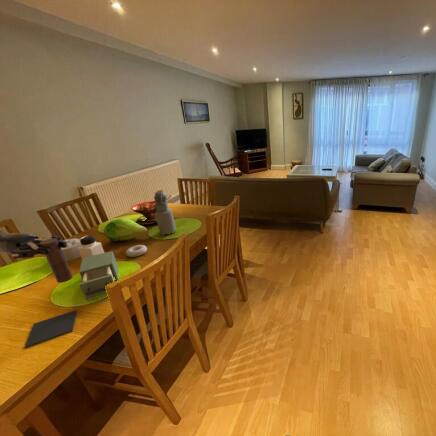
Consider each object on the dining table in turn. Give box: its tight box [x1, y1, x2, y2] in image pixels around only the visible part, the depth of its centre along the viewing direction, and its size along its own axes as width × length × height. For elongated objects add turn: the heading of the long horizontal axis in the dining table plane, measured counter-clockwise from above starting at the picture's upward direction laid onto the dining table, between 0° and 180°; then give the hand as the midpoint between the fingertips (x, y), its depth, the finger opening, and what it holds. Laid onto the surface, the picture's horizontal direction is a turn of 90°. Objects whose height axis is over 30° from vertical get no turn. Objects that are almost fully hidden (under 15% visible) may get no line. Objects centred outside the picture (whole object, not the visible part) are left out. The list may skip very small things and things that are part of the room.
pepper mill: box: [40, 238, 73, 284], centre depth 86 cm, size 4×4×16 cm
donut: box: [125, 244, 148, 258], centre depth 133 cm, size 10×3×10 cm
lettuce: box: [103, 217, 148, 243], centre depth 148 cm, size 15×22×15 cm
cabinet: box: [78, 250, 119, 282], centre depth 111 cm, size 14×12×10 cm
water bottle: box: [153, 189, 177, 236], centre depth 154 cm, size 10×10×28 cm
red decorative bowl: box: [130, 195, 172, 225], centre depth 176 cm, size 28×24×16 cm
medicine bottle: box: [78, 235, 105, 259], centre depth 129 cm, size 7×7×12 cm
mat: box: [24, 309, 78, 349], centre depth 86 cm, size 12×12×1 cm
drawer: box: [79, 265, 115, 301], centre depth 102 cm, size 17×10×8 cm, turn 35°
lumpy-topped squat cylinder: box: [61, 237, 82, 263], centre depth 130 cm, size 10×13×9 cm
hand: (57, 248), depth 84 cm, fingers closed on pepper mill, 4 cm apart
